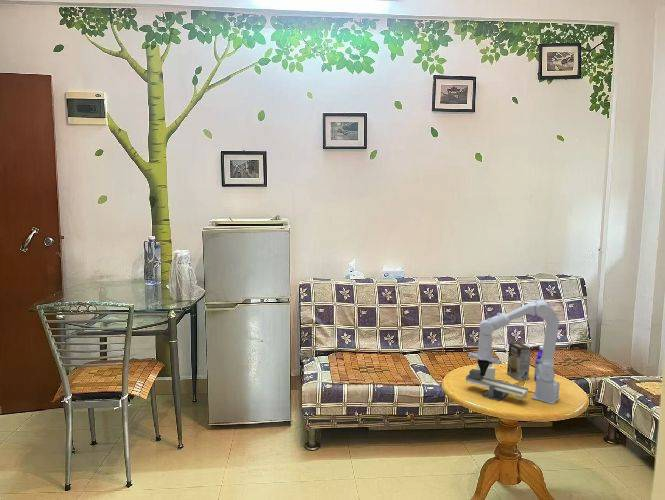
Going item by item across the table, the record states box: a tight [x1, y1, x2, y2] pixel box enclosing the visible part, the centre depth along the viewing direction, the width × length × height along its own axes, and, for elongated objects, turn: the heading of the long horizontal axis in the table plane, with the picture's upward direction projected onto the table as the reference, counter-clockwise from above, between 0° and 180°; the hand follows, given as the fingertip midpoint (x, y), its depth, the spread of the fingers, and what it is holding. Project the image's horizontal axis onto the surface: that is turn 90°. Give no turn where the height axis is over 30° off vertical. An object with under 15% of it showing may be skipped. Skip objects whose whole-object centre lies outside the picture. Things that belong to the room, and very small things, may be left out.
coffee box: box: [506, 341, 532, 381], centre depth 260 cm, size 9×6×16 cm
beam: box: [465, 374, 529, 401], centre depth 237 cm, size 26×7×5 cm, turn 49°
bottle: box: [533, 344, 544, 381], centre depth 254 cm, size 7×6×17 cm
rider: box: [468, 368, 483, 381], centre depth 243 cm, size 5×4×4 cm
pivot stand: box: [481, 380, 510, 402], centre depth 237 cm, size 8×10×6 cm
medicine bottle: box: [476, 362, 496, 380], centre depth 256 cm, size 7×7×12 cm
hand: (483, 375), depth 241 cm, fingers closed
